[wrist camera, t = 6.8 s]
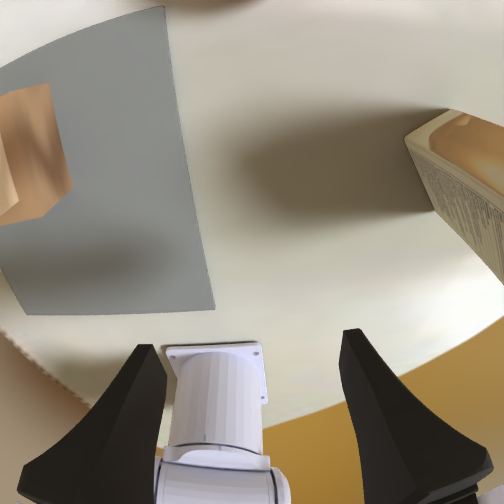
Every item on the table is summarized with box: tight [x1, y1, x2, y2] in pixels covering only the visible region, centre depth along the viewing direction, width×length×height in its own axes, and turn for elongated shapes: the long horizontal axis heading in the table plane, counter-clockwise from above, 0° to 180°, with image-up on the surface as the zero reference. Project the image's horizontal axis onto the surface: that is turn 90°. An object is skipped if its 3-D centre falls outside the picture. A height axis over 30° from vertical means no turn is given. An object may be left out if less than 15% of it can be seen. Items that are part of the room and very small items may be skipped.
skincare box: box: [404, 109, 504, 285], centre depth 12 cm, size 6×4×12 cm
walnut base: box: [0, 83, 74, 226], centre depth 14 cm, size 7×7×4 cm
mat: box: [0, 5, 215, 315], centre depth 18 cm, size 20×18×1 cm
